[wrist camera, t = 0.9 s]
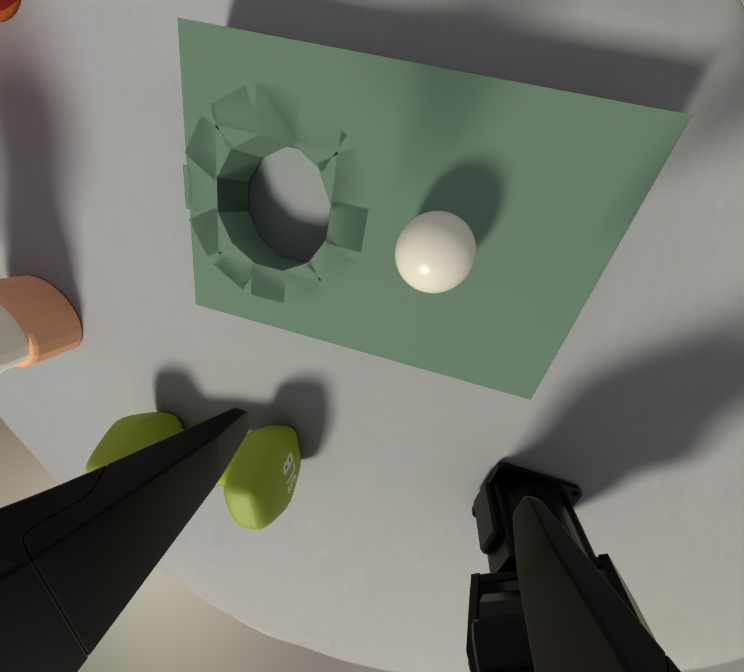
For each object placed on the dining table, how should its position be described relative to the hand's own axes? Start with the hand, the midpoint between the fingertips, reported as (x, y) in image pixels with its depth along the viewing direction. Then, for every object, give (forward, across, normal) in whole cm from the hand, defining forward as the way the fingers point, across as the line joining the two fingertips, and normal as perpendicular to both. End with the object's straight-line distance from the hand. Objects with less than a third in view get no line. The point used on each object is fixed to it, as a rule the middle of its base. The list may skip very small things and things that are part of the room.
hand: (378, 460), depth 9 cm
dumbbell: (+12, +14, +16) cm, 25 cm away
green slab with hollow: (+12, +3, -6) cm, 14 cm away
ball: (+7, 0, -6) cm, 9 cm away
